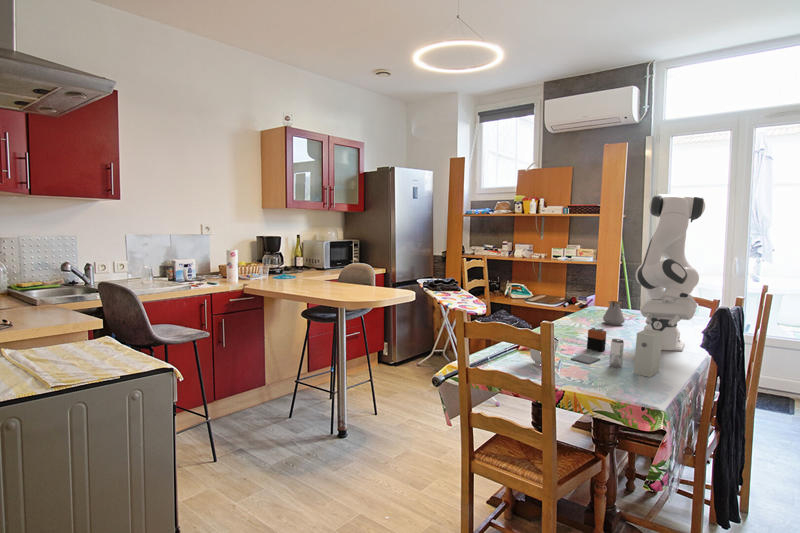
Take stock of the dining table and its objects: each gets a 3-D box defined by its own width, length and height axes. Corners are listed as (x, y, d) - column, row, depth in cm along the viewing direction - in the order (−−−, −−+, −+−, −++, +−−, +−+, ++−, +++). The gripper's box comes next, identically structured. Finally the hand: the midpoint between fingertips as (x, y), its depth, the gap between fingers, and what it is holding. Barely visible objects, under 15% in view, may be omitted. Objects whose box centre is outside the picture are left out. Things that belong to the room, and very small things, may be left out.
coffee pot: (603, 320, 275) (605, 295, 273) (625, 323, 269) (627, 298, 268) (599, 327, 256) (601, 301, 255) (622, 330, 251) (624, 303, 249)
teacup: (555, 359, 194) (556, 336, 193) (559, 371, 180) (560, 345, 179) (525, 357, 197) (526, 334, 196) (526, 367, 183) (528, 343, 182)
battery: (601, 352, 208) (603, 330, 207) (586, 349, 212) (587, 327, 211) (605, 350, 211) (607, 329, 210) (590, 347, 216) (591, 326, 214)
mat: (581, 355, 202) (581, 354, 202) (600, 359, 196) (600, 358, 196) (570, 359, 195) (570, 358, 195) (589, 364, 189) (589, 363, 189)
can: (612, 364, 191) (614, 337, 190) (623, 366, 188) (625, 340, 186) (607, 366, 188) (609, 339, 187) (619, 369, 185) (621, 342, 183)
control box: (643, 367, 187) (646, 328, 185) (659, 371, 183) (663, 331, 181) (633, 373, 180) (636, 333, 178) (649, 377, 175) (653, 336, 174)
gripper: (645, 293, 200) (631, 317, 195) (695, 294, 182) (681, 320, 177) (652, 304, 202) (638, 327, 197) (701, 306, 184) (687, 331, 179)
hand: (658, 324), depth 187 cm, fingers open, 8 cm apart
